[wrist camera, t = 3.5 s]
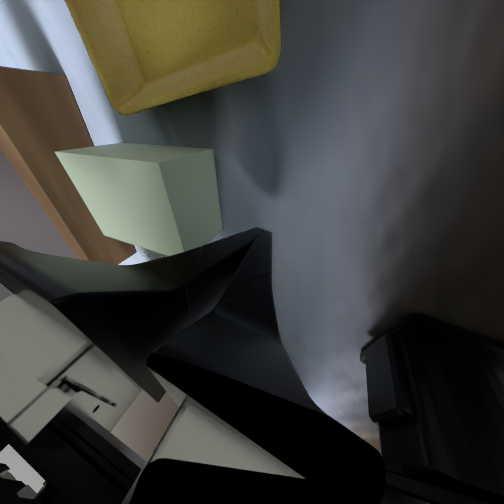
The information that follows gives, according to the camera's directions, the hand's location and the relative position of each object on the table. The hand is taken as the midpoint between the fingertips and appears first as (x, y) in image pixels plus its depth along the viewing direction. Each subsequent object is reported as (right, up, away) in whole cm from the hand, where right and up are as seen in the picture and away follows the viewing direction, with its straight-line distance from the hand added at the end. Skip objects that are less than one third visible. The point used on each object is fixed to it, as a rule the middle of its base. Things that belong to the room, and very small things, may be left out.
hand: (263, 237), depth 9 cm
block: (-6, +4, +3) cm, 8 cm away
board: (-13, +5, +6) cm, 16 cm away
